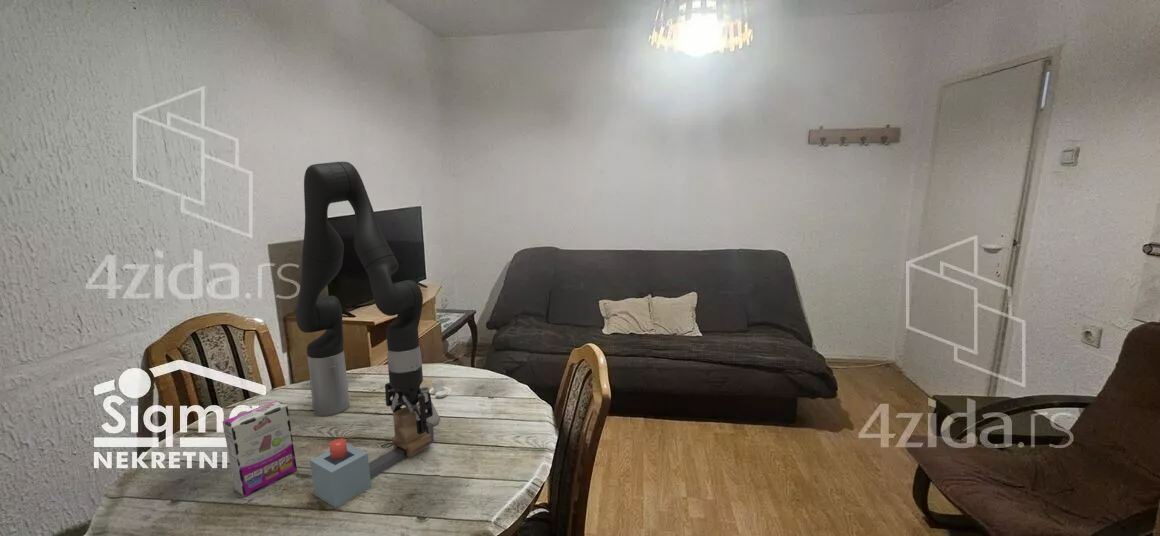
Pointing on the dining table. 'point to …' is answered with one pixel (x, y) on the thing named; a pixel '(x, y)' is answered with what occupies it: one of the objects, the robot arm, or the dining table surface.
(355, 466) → the button housing
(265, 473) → the candy bar box
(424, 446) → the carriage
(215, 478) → the dining table surface
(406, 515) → the dining table surface
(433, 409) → the flask
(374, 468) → the rail
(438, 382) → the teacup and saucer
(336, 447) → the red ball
